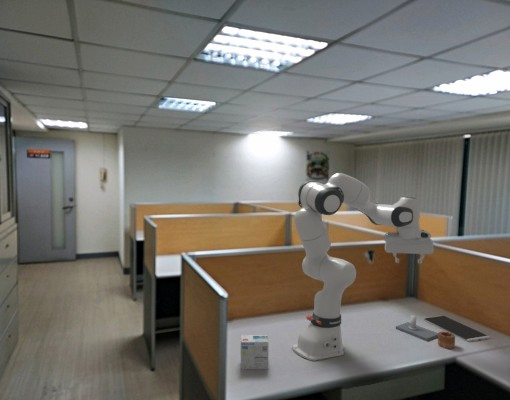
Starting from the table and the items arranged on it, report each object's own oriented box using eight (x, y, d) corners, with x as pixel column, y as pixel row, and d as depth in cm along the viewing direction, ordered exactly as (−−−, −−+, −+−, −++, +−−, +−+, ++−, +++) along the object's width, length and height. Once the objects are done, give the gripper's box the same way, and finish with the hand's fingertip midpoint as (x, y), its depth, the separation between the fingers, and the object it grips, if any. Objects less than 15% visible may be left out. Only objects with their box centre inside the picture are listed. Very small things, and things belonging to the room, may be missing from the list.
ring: (449, 350, 150) (449, 338, 150) (435, 344, 155) (435, 333, 155) (456, 346, 153) (457, 335, 153) (443, 341, 158) (443, 330, 158)
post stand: (426, 341, 158) (427, 325, 158) (395, 328, 172) (396, 314, 171) (439, 336, 164) (439, 320, 163) (408, 324, 177) (408, 310, 177)
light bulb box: (267, 360, 140) (267, 334, 139) (268, 369, 133) (269, 341, 132) (240, 361, 139) (240, 334, 139) (240, 370, 133) (240, 341, 132)
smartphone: (468, 343, 158) (468, 340, 158) (422, 320, 184) (422, 317, 183) (490, 340, 162) (490, 336, 162) (442, 318, 188) (443, 314, 187)
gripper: (385, 233, 159) (384, 263, 160) (434, 234, 154) (434, 265, 155) (383, 231, 165) (383, 260, 166) (431, 232, 160) (431, 262, 161)
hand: (408, 263), depth 160 cm, fingers open, 8 cm apart
